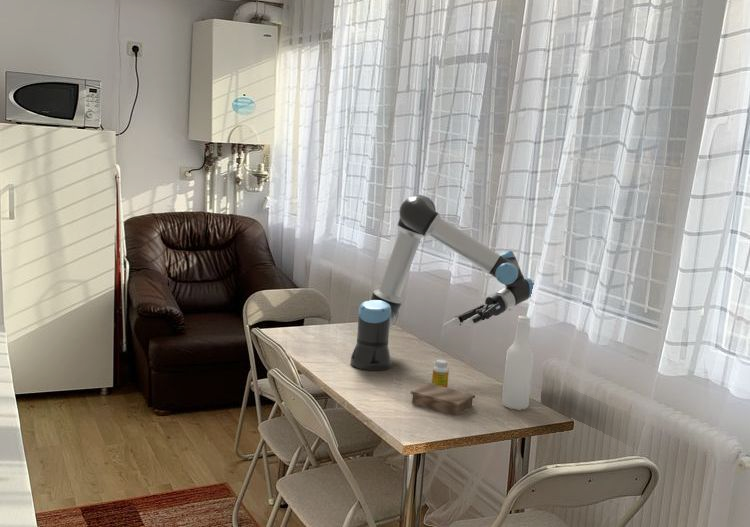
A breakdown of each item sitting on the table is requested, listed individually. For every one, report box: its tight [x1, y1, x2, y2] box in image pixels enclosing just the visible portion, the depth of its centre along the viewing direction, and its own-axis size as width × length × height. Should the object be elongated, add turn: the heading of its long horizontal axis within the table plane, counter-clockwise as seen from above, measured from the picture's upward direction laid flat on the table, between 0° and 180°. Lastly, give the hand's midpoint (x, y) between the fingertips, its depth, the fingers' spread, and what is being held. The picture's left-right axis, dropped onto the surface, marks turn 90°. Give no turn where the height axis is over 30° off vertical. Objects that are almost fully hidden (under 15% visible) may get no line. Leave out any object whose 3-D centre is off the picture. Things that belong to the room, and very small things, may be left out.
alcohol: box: [501, 315, 535, 410], centre depth 255 cm, size 9×9×30 cm
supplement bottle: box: [431, 359, 450, 388], centre depth 269 cm, size 5×5×10 cm
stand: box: [410, 382, 476, 416], centre depth 252 cm, size 17×12×4 cm
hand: (454, 326), depth 277 cm, fingers open, 13 cm apart
